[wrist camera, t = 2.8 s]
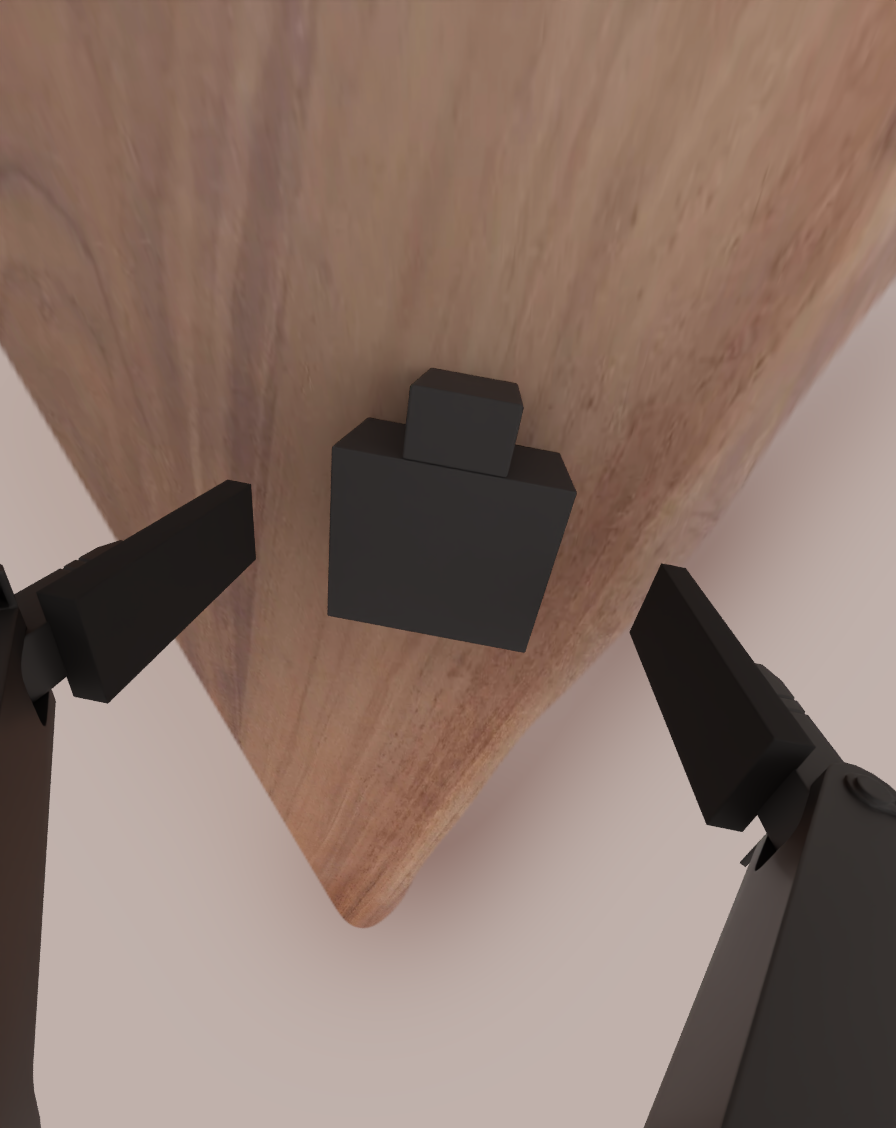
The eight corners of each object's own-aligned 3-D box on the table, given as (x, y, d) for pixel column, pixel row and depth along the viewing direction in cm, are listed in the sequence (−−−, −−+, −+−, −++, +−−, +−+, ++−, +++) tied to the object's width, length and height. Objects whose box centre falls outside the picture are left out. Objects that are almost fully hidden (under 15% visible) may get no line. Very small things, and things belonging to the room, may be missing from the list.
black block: (358, 560, 19) (326, 616, 15) (371, 356, 15) (333, 369, 11) (520, 591, 19) (525, 653, 15) (577, 394, 15) (601, 419, 11)
